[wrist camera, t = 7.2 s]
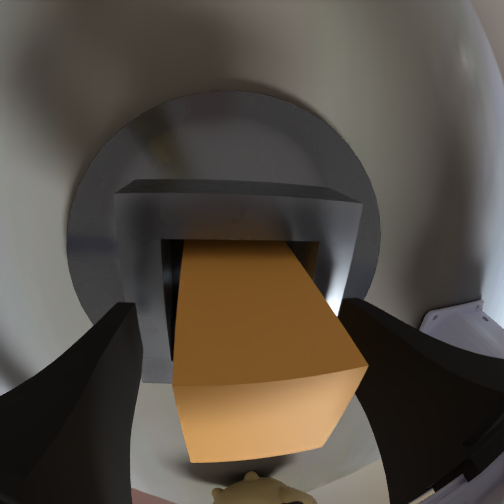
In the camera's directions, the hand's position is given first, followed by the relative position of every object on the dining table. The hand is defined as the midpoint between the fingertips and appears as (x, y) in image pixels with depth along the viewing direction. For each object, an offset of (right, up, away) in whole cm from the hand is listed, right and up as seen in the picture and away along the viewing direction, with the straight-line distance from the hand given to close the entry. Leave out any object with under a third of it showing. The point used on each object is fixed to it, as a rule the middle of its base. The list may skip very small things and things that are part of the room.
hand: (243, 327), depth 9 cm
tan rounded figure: (+1, -25, +16) cm, 30 cm away
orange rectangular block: (-1, +2, +4) cm, 4 cm away
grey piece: (-1, -2, +6) cm, 6 cm away
